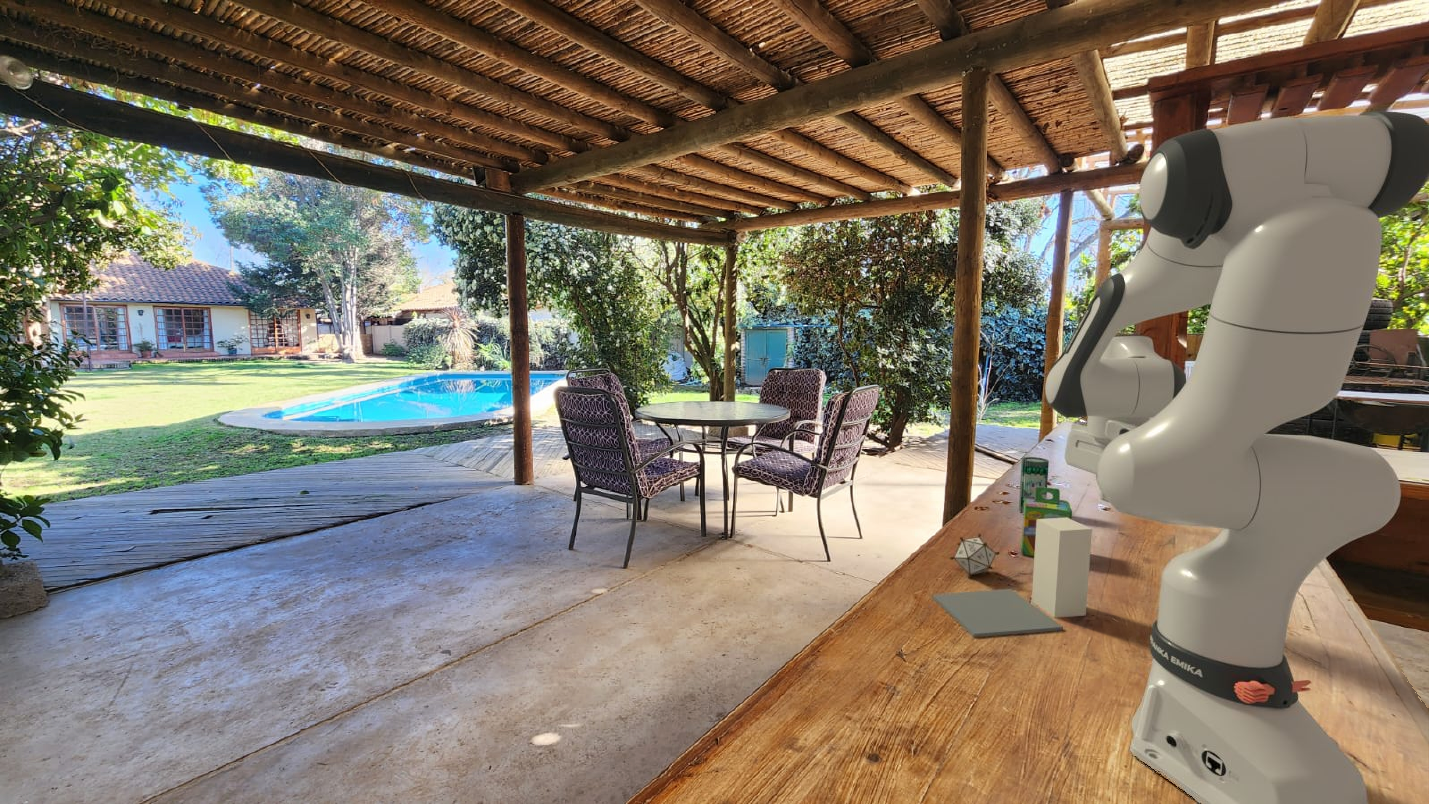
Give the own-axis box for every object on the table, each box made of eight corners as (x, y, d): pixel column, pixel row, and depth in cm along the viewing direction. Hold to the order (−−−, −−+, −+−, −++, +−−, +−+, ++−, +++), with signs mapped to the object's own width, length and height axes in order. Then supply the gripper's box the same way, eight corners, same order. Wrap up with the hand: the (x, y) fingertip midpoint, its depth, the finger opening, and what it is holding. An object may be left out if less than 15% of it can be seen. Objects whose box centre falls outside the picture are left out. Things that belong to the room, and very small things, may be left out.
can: (1022, 515, 151) (1025, 461, 149) (1017, 508, 157) (1020, 456, 155) (1047, 517, 150) (1050, 462, 148) (1041, 510, 155) (1044, 457, 153)
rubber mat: (1062, 630, 95) (1063, 626, 95) (973, 637, 93) (973, 633, 93) (1010, 591, 108) (1010, 589, 108) (932, 597, 107) (932, 594, 107)
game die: (982, 594, 116) (1008, 569, 109) (942, 577, 117) (965, 551, 110) (982, 559, 122) (1007, 533, 115) (944, 543, 123) (966, 517, 117)
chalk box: (1021, 555, 125) (1024, 491, 123) (1020, 541, 133) (1023, 481, 131) (1069, 563, 121) (1074, 497, 119) (1065, 548, 129) (1070, 486, 127)
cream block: (1086, 615, 99) (1092, 528, 97) (1054, 617, 99) (1060, 530, 97) (1062, 599, 105) (1067, 517, 103) (1031, 601, 105) (1036, 519, 103)
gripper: (1058, 417, 109) (1053, 486, 111) (1150, 439, 88) (1142, 523, 90) (1088, 416, 109) (1083, 484, 111) (1186, 437, 89) (1178, 520, 91)
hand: (1110, 502), depth 101 cm, fingers closed
